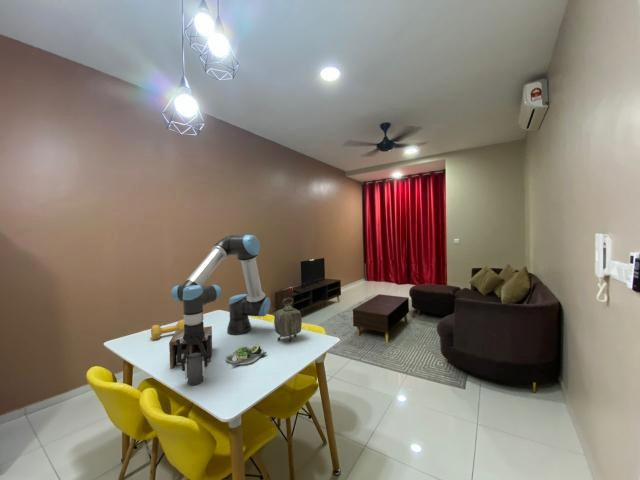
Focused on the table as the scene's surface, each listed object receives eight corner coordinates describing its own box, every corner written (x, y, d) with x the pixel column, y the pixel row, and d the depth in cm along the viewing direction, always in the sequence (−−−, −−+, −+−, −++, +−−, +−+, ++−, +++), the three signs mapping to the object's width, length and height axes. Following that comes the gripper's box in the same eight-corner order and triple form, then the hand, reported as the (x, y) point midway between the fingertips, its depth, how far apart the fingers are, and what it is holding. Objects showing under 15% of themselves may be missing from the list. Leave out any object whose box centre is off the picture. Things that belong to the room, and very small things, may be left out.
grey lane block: (189, 357, 133) (189, 348, 133) (188, 363, 128) (187, 353, 127) (178, 359, 132) (178, 349, 131) (176, 365, 126) (176, 355, 126)
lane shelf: (212, 348, 143) (211, 326, 143) (210, 361, 128) (209, 336, 128) (176, 354, 137) (175, 330, 137) (170, 368, 122) (169, 342, 122)
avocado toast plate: (246, 372, 119) (246, 362, 119) (216, 365, 125) (216, 355, 125) (270, 353, 137) (269, 344, 137) (242, 348, 143) (242, 340, 143)
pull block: (206, 362, 127) (205, 340, 127) (202, 383, 109) (201, 357, 109) (193, 364, 125) (192, 342, 125) (186, 386, 107) (185, 360, 107)
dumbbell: (151, 342, 154) (151, 328, 154) (151, 337, 161) (150, 324, 161) (187, 334, 165) (186, 321, 164) (185, 330, 172) (184, 318, 172)
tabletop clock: (296, 334, 160) (295, 294, 160) (303, 339, 153) (302, 297, 152) (274, 340, 152) (273, 298, 152) (280, 345, 145) (279, 301, 144)
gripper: (217, 317, 117) (219, 367, 118) (170, 322, 111) (172, 375, 111) (217, 322, 110) (218, 375, 111) (166, 328, 104) (168, 385, 104)
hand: (195, 375), depth 111 cm, fingers closed on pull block, 6 cm apart
